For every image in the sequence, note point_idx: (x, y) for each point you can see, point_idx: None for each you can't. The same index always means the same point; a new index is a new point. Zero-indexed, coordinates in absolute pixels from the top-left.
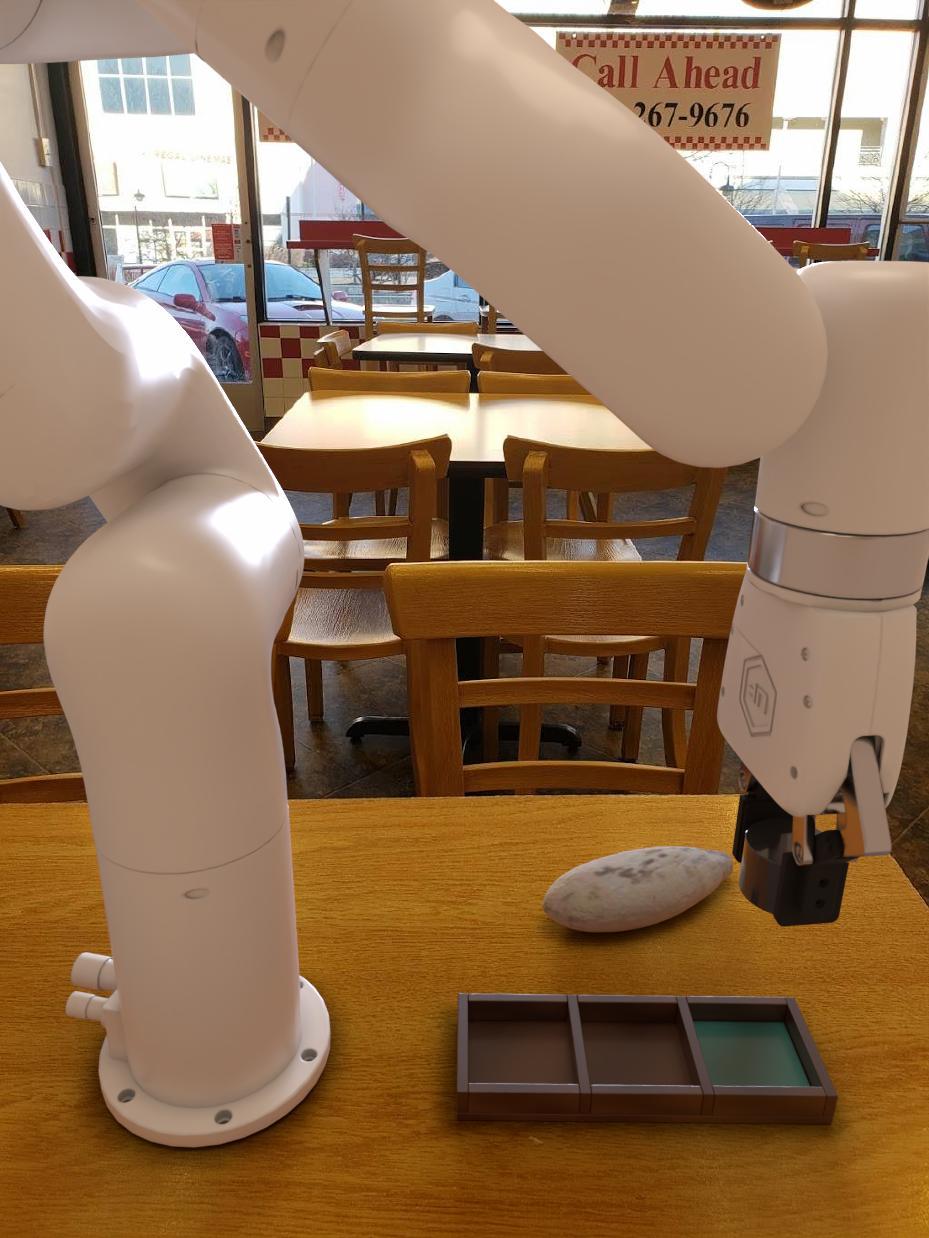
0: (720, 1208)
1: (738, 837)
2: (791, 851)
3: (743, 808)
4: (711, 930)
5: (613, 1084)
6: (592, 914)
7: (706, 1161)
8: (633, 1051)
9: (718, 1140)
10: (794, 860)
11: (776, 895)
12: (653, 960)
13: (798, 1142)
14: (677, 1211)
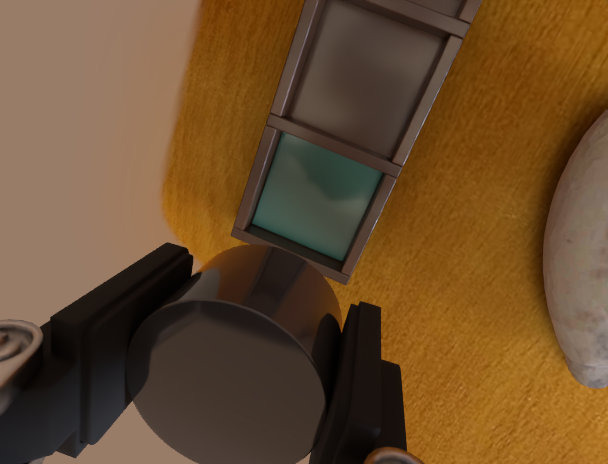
0: (201, 78)
1: (359, 332)
2: (187, 372)
3: (350, 395)
4: (503, 289)
5: (342, 39)
6: (596, 139)
7: (243, 93)
8: (373, 87)
9: (258, 118)
10: (35, 326)
11: (156, 265)
12: (496, 196)
13: (236, 186)
14: (207, 36)
